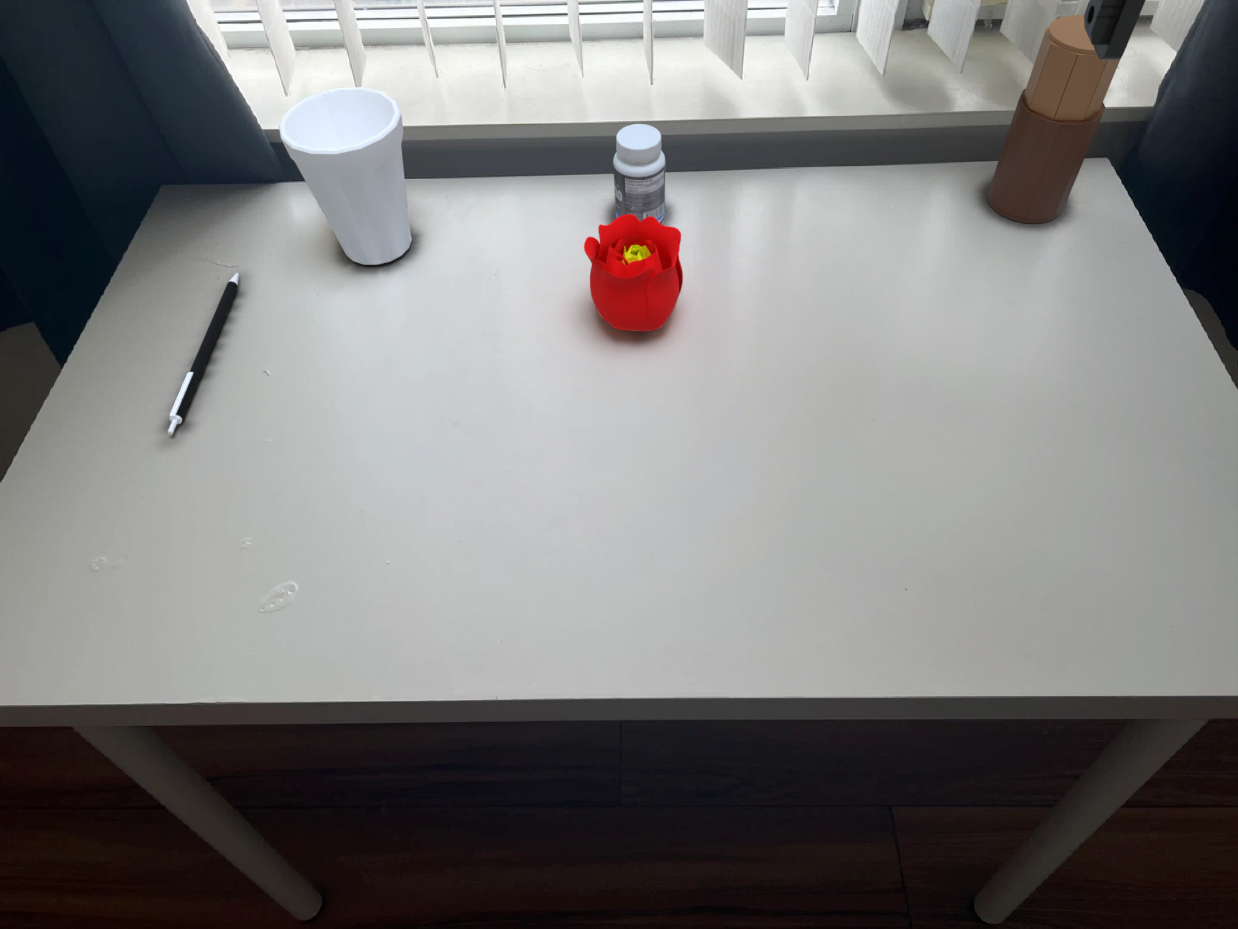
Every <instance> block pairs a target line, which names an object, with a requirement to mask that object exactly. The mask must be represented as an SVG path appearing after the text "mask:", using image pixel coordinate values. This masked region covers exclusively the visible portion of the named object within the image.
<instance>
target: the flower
mask: <svg viewBox="0 0 1238 929" xmlns="http://www.w3.org/2000/svg"><path fill="white" fill-rule="evenodd" d="M597 228H598V237H599V238H596V237H593V236H587V237H586V238H585V241H584V243H583V250H584V253H585V255H586V256H587V258H588V259H589V261H590V263H591V266H590V273H589V289H590V295H591V299H592V302H593V305H594V306H595V309H596V310H597V312H598V314H599V316H600V317H601V318H602V320H603V321H605V322H606V323H607V324H608V325H610V326H611V327H612V328H613V329H615V330H619V331H629V332H652V331H657V330H658V329H660V328H662V327H663V326H664V325H665V323H666V322H667V321H668V319H669V318H670V317H671V315H672V313H673V311H674V309H675V307H676V305H677V303H678V299H679V296H680V294H681V292H682V288H683V283H684V273H683V272H684V271H683V267H682V263H681V260H680V249H681V248H680V246H681V242H682V232H681V230H679V229H678V228H677V227H674V226H668V225H664V224H662V223H661V222H660V223H659V222H658V221H657V219H656V218H655V217H652V216H650V217H646V218H644V219H643V220H642V221H641V222H640V221H639V219H638V218H637V217H636V216H635V215H633V214H626V215H622V216H620V217H618V218H617V217H615V219H614V220H612V222H611V223H609V224H601V223H600V224H598V227H597ZM598 239H599V240H598Z"/></svg>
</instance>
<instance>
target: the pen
mask: <svg viewBox="0 0 1238 929" xmlns="http://www.w3.org/2000/svg"><path fill="white" fill-rule="evenodd" d="M239 277H240V274H239V271H237V272H236V273H235V274H234V275H233V276H232V277H231V278H230V280H229V281H228V282H227V283H226V286H225V288H224V291H223V293H222V295H221V297H220V300H219V302H218V304H217V307H216V309H215V311H214V313H213V316H212V318H211V321H210V323H209V326H208V328H207V330H206V332H205V335H204V337H203V339H202V342H201V344H200V346H199V348H198V351H197V353H196V355H195V358H194V360H193V363H192V365H191V368H190V369H189V371H188V372H187V373H186V375H185V378H184V380H183V381H182V385H181V386H180V389H179V392H178V394H177V396H176V398H175V401H174V404H173V406H172V407H171V410H170V413H169V419H168V420H169V422H170V425H169V427H168V430H167V434H168V435H171V436H172V435H173V434H174V432H175V429H176V427H177V426H178V425H181V424H182V423H183V420H184V417H185V415H186V412H187V410H188V408H189V405H190V403H191V400H192V397H193V396H194V393H195V391H196V388H197V386H198V383H199V381H200V379H201V376H202V374H203V371H204V369H205V367H206V365H207V362H208V360H209V357H210V355H211V352H212V350H213V348H214V345H215V343H216V341H217V338H218V336H219V333H220V331H221V328H222V326H223V323H224V321H225V319H226V317H227V314H228V311H229V309H230V307H231V304H232V302H233V300H234V297H235V295H236V293H237V290H238V288H239Z"/></svg>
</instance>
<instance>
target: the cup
mask: <svg viewBox="0 0 1238 929" xmlns="http://www.w3.org/2000/svg"><path fill="white" fill-rule="evenodd" d="M280 121H281V122H280V123H279V126H278V130H279V135H280V140H281V141H282V143H283V145H284V148H285V149H286V152H287V154H288V155H289V158H290V159H291V160H292V161H293V162H294V164H295V165H296V167H297V169H298V171H299V172H300V175H301V176H302V177H303V179H304V181H305V183H306V185H307V186H308V188H309V190H310V192H311V194H312V196H313V197H314V199H315V201H316V203H317V205H318V206H319V209H320V210H321V212H322V214H323V216H324V217H325V219H326V221H327V223H328V225H329V227H330V228H331V230H332V232H333V234H334V236H335V238H336V239H337V241H338V243H339V245H340V246H341V248H342V250H343V252H344V254H345V255H346V257H347V258H349V259H350V260H351V261H352V262H354V263H358V264H361V265H364V266H365V265H367V266H368V265H370V266H371V265H372V266H373V265H374V266H376V265H377V266H378V265H382V264H384V263H385V264H387V263H390V262H393V261H394V260H396V259H397V258H400V257H402V256H403V255H404V254H405V253H406V252H407V251H408V250H409V249H410V247H411V243H412V241H413V238H412V234H411V226H410V216H409V208H408V207H409V206H408V197H407V189H406V179H405V169H404V158H403V150H402V143H403V136H404V133H405V132H404V124H403V117H402V111H401V108H400V106H399V103H398V101H397V100H395V99H394V98H392V97H391V96H390V95H388V94H387V93H385V92H384V91H382V90H381V91H380V90H377V89H373V88H369V87H363V86H362V87H361V86H359V87H358V86H357V87H356V86H355V87H353V86H351V87H348V86H347V87H339V88H333V89H329V90H328V89H327V90H324V91H320V92H317V93H315V94H313V95H310V96H309V97H306V98H304V99H301V100H300V101H298V102H297V103H296V104H295V105H293V106H292V107H290V109H288V110H287V111H286V112H285V114H284V116H283V118H282V120H280Z"/></svg>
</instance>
